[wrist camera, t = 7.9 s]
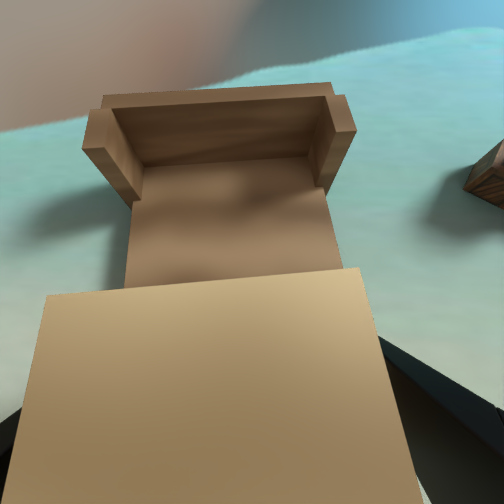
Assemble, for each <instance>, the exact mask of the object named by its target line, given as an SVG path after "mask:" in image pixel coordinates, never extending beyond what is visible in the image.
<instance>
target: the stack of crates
mask: <svg viewBox="0 0 504 504" xmlns="http://www.w3.org/2000/svg"><path fill="white" fill-rule="evenodd" d="M463 190H464V191H467V192H469V193H471V194H473V195H475V196H477V197H479V198H481V199H483V200H485V201H487V202H489V203H491V204H493V205H495V206H497V207H499V208H501V209H504V139H503V140H502V141H501V142H500V143H498V144H497V145H496V146H495V147H494V148H493V149H491V150H490V151H489V152H488V153H487V154H486V155H485V156H483V157H482V158H481V159H480V160H479V161H478V162H476V163H475V165H474V167H473V169H472V171H471V173H470V175H469V177H468V179H467V181H466V184H465V186H464V188H463Z"/></svg>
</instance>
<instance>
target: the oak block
mask: <svg viewBox="0 0 504 504" xmlns="http://www.w3.org/2000/svg"><path fill="white" fill-rule="evenodd" d="M1 504H424V503H423V499H422V496H421V492H420V488H419V485H418V481H417V477H416V474H415V470H414V466H413V463H412V459H411V455H410V452H409V448H408V444H407V441H406V437H405V433H404V430H403V426H402V422H401V419H400V415H399V412H398V408H397V404H396V401H395V397H394V393H393V390H392V386H391V382H390V379H389V375H388V371H387V368H386V364H385V360H384V357H383V353H382V349H381V346H380V342H379V339H378V335H377V331H376V328H375V324H374V320H373V317H372V313H371V309H370V306H369V302H368V298H367V295H366V291H365V287H364V284H363V280H362V276H361V273H360V269H359V268H348V269H337V270H325V271H314V272H303V273H292V274H281V275H270V276H259V277H248V278H237V279H225V280H214V281H203V282H192V283H181V284H170V285H159V286H148V287H137V288H126V289H114V290H103V291H92V292H81V293H70V294H59V295H48V296H47V297H46V302H45V307H44V311H43V316H42V320H41V325H40V329H39V334H38V338H37V343H36V347H35V352H34V356H33V361H32V365H31V370H30V374H29V379H28V383H27V388H26V392H25V397H24V402H23V406H22V411H21V415H20V420H19V424H18V429H17V433H16V438H15V442H14V447H13V451H12V456H11V460H10V465H9V469H8V474H7V478H6V483H5V487H4V492H3V497H2V501H1Z"/></svg>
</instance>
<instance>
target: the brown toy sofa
mask: <svg viewBox="0 0 504 504" xmlns="http://www.w3.org/2000/svg"><path fill="white" fill-rule="evenodd" d="M356 132H357V129H356V126H355V123H354V120H353V117H352V114H351V112H350V109H349V106H348V103H347V100H346V97H345V95H335V94H334V91H333V88H332V84H331V82H324V83H306V84H289V85H271V86H254V87H237V88H219V89H202V90H184V91H167V92H151V93H150V92H149V93H132V94H116V95H103V100H102V105H101V109H93V110H90V113H89V117H88V122H87V127H86V131H85V136H84V140H83V145H82V150H83V151H84V152H85V153H86V155H87V156H88V157H89V158H90V160H91V161H92V162H93V163H94V164H95V166H96V167H97V168H98V169H99V171H100V172H101V173H102V174H103V176H104V177H105V178H106V179H107V180H108V182H109V183H110V184H111V185H112V187H113V188H114V189H115V190H116V192H117V193H118V194H119V195H120V196H121V198H122V199H123V200H124V201H125V203H126V204H127V205H128V206H129V208H130V209H131V210H132V215H131V225H130V234H129V244H128V254H127V263H126V273H125V282H124V289H126V288H137V287H148V286H159V285H170V284H181V283H192V282H203V281H214V280H225V279H237V278H248V277H259V276H270V275H281V274H292V273H303V272H314V271H325V270H337V269H343V266H342V262H341V258H340V254H339V249H338V245H337V241H336V237H335V233H334V229H333V225H332V221H331V217H330V213H329V209H328V205H327V201H326V195H327V193H328V191H329V189H330V187H331V185H332V183H333V181H334V178H335V176H336V174H337V172H338V170H339V168H340V166H341V164H342V161H343V159H344V157H345V155H346V153H347V151H348V149H349V147H350V144H351V142H352V140H353V138H354V136H355V134H356Z"/></svg>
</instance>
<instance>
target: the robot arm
mask: <svg viewBox="0 0 504 504" xmlns="http://www.w3.org/2000/svg"><path fill="white" fill-rule="evenodd" d="M378 339H379V342H380V346H381V349H382V353H383V357H384V360H385V364H386V368H387V371H388V375H389V379H390V382H391V386H392V390H393V393H394V397H395V401H396V404H397V408H398V412H399V415H400V419H401V422H402V426H403V430H404V433H405V437H406V441H407V444H408V448H409V452H410V455H411V459H412V463H413V466H414V470H415V473H416V475H417V477H418V479H419V481H420V483H421V485H422V487H423V488H424V490H425V492H426V494H427V496H428V498H429V500H430V502H431V503H432V504H504V411H503V410H502V409H500V408H498V407H495V406H494V405H493V404H491V403H490V402H488V401H486V400H485V399H483V398H481V397H480V396H478V395H476V394H475V393H473V392H471V391H470V390H468V389H466V388H465V387H463V386H461V385H460V384H458V383H456V382H455V381H453V380H451V379H450V378H448V377H446V376H445V375H443V374H441V373H440V372H438V371H436V370H435V369H433V368H431V367H430V366H428V365H426V364H425V363H423V362H421V361H420V360H418V359H416V358H415V357H413V356H411V355H410V354H408V353H406V352H405V351H403V350H401V349H400V348H398V347H396V346H395V345H393V344H391V343H390V342H388V341H386V340H385V339H383V338H381V337H380V336H378ZM21 411H22V408H20V409H19V410H17V411H16V412H15V413H13V414H12V415H11V416H9V417H8V418H7V419H5V420H4V421H3V422H1V423H0V504H1V501H2V497H3V492H4V487H5V483H6V478H7V474H8V469H9V465H10V460H11V456H12V451H13V447H14V442H15V438H16V433H17V429H18V424H19V420H20V415H21Z"/></svg>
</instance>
